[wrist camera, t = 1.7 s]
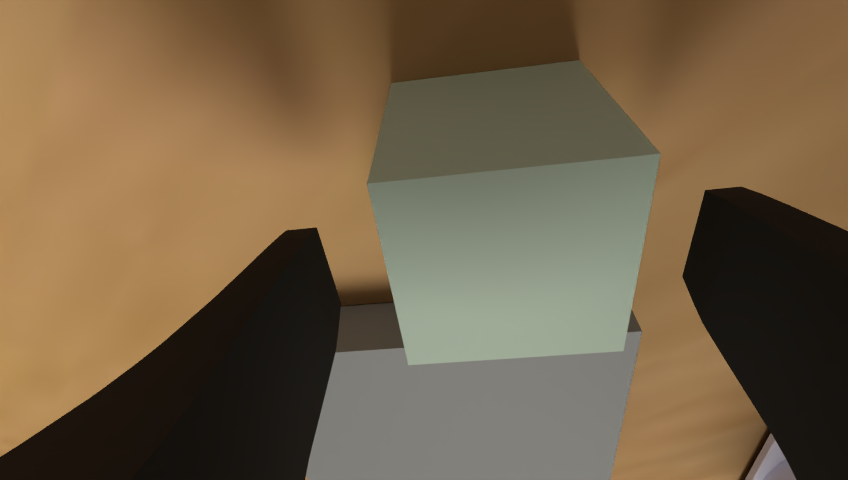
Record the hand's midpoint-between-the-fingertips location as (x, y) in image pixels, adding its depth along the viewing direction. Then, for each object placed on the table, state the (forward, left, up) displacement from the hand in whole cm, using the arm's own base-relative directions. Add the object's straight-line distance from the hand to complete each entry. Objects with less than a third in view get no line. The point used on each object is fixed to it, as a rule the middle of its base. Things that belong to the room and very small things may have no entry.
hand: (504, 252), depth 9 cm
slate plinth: (+2, +10, -4) cm, 11 cm away
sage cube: (0, 0, -4) cm, 4 cm away
